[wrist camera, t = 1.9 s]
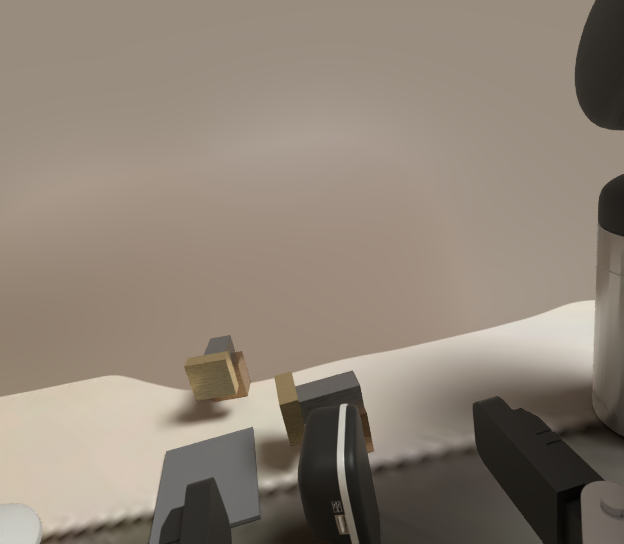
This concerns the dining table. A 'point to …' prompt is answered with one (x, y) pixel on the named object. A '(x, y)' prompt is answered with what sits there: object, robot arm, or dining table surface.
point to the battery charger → (338, 477)
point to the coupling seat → (206, 464)
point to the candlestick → (19, 524)
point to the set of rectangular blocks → (292, 399)
